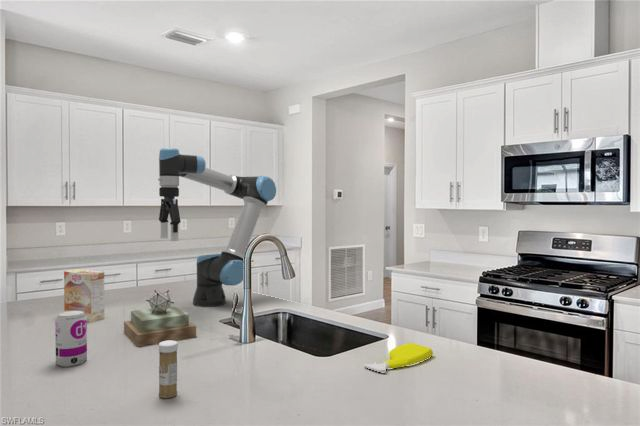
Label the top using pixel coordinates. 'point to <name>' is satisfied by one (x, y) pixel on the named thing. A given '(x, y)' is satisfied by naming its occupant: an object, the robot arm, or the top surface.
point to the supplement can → (71, 338)
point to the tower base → (158, 334)
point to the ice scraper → (403, 357)
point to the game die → (160, 301)
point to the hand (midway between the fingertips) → (169, 239)
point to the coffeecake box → (85, 293)
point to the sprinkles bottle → (168, 369)
